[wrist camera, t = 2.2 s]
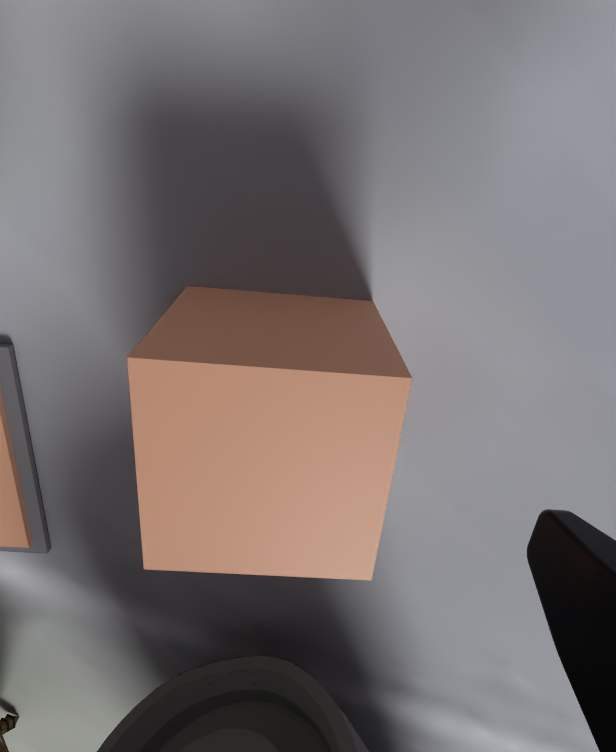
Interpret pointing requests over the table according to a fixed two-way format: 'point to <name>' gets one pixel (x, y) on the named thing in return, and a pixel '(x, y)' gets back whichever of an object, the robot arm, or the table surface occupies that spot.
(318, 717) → the bluetooth speaker
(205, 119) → the table surface
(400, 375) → the terracotta cube
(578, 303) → the table surface
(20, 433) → the tile
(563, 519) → the robot arm
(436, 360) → the table surface
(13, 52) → the table surface
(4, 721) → the game die
